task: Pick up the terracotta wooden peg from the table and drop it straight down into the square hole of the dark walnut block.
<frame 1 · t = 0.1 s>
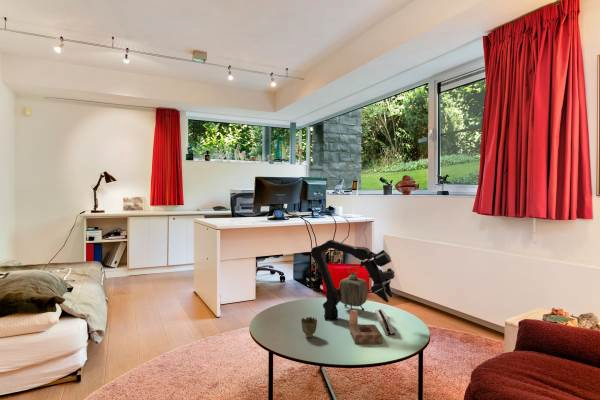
hand: (389, 299, 169), 15 cm above the table, tool tilted 30°, fingers open, 9 cm apart
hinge: (384, 329, 170), on the table
hole block: (365, 338, 159), on the table
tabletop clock: (352, 310, 196), on the table
peg: (353, 327, 171), on the table
cup: (309, 337, 159), on the table
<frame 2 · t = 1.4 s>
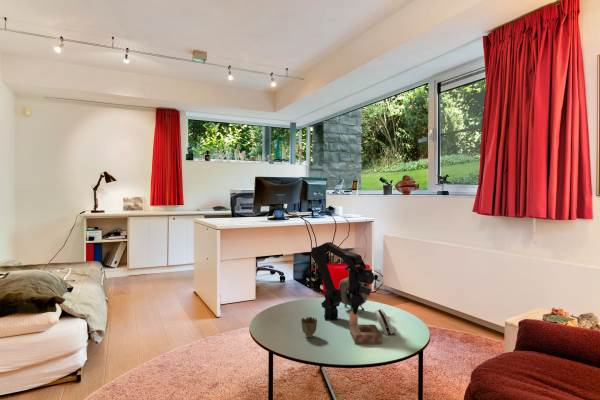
hand: (353, 310, 171), 8 cm above the table, tool pointing down, fingers open, 9 cm apart
nothing on the table moved.
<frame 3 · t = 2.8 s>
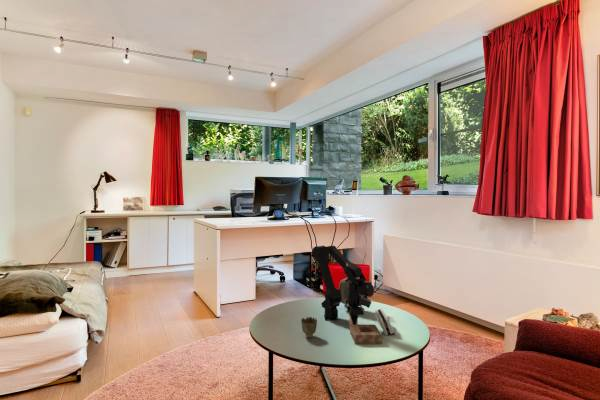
hand: (353, 323, 171), 2 cm above the table, tool pointing down, fingers closed on peg, 4 cm apart
peg: (353, 327, 171), on the table, touching gripper
everything else where it was.
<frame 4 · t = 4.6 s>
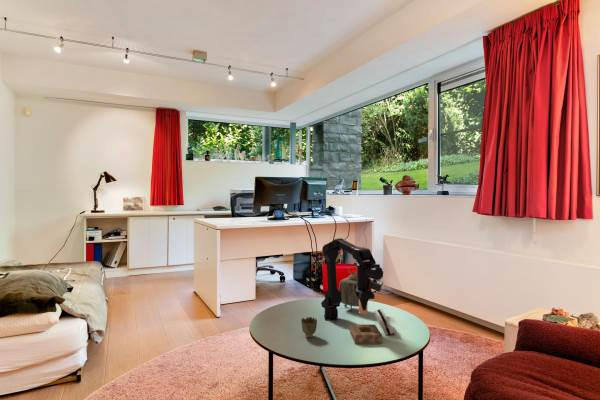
hand: (363, 308, 161), 13 cm above the table, tool pointing down, fingers closed on peg, 4 cm apart
peg: (363, 312, 162), point 11 cm above the table, touching gripper
everything else where it was.
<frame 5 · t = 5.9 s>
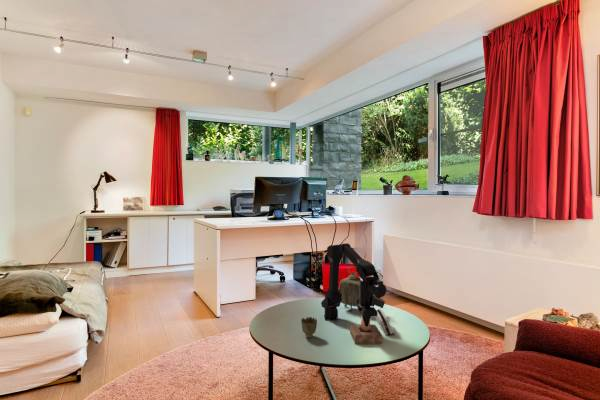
hand: (365, 324, 158), 6 cm above the table, tool pointing down, fingers closed on peg, 4 cm apart
peg: (365, 328, 158), point 4 cm above the table, touching gripper
everything else where it was.
when the fingers open (5 cm above the table, at t = 6.9 s): peg drops 3 cm, resting in hole block.
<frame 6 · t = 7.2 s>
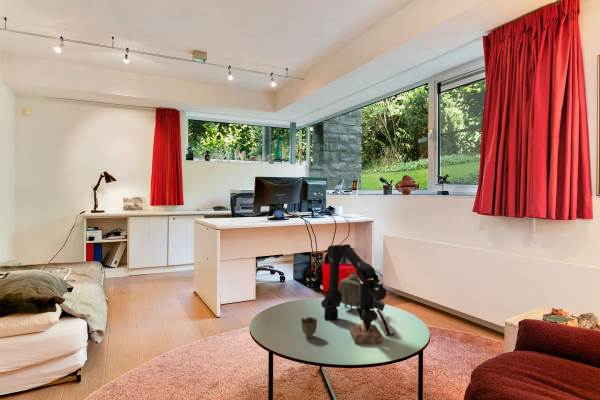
hand: (365, 327, 158), 5 cm above the table, tool pointing down, fingers open, 7 cm apart
peg: (365, 338, 159), resting in hole block
everything else where it was.
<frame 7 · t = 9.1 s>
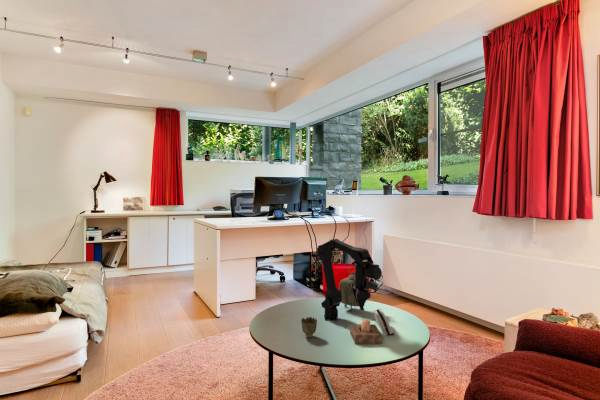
hand: (359, 306, 168), 12 cm above the table, tool pointing down, fingers open, 9 cm apart
nothing on the table moved.
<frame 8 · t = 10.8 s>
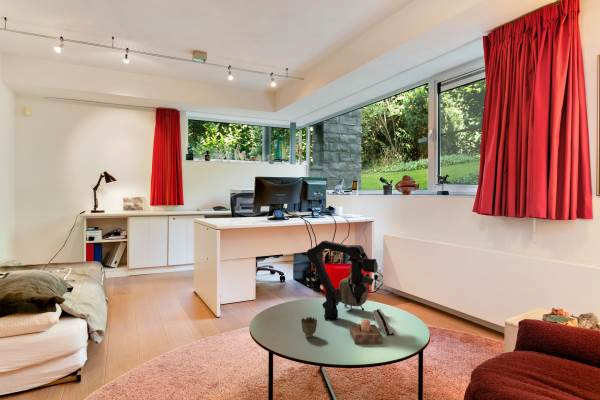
hand: (356, 300, 175), 12 cm above the table, tool pointing down, fingers open, 9 cm apart
at the end: peg 0.0 cm off-centre on the hole block, point 0.0 cm above the hole block's base; peg tilted 0°; the gripper is holding nothing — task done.
